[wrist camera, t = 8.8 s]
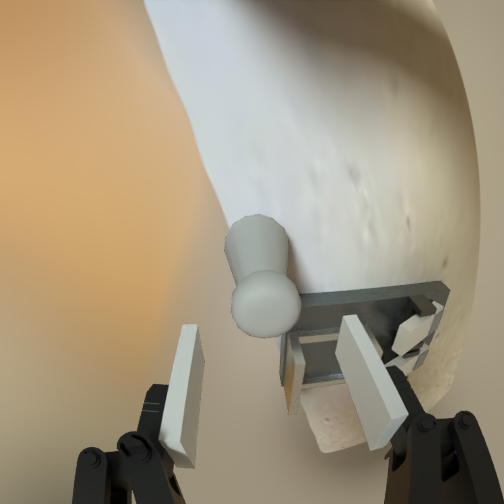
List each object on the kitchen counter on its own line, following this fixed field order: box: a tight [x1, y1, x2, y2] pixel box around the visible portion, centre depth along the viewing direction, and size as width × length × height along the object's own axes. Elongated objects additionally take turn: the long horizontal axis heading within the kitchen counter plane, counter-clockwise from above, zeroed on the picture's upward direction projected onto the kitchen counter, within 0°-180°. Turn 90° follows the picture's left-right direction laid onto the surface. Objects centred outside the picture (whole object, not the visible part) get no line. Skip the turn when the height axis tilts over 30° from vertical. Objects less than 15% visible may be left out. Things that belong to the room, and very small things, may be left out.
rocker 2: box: [384, 343, 429, 376], centre depth 30 cm, size 4×8×2 cm, turn 91°
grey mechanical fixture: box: [279, 281, 450, 415], centre depth 30 cm, size 13×22×8 cm, turn 91°
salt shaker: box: [224, 214, 301, 338], centre depth 22 cm, size 6×6×13 cm
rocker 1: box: [392, 301, 444, 356], centre depth 28 cm, size 4×8×2 cm, turn 91°
